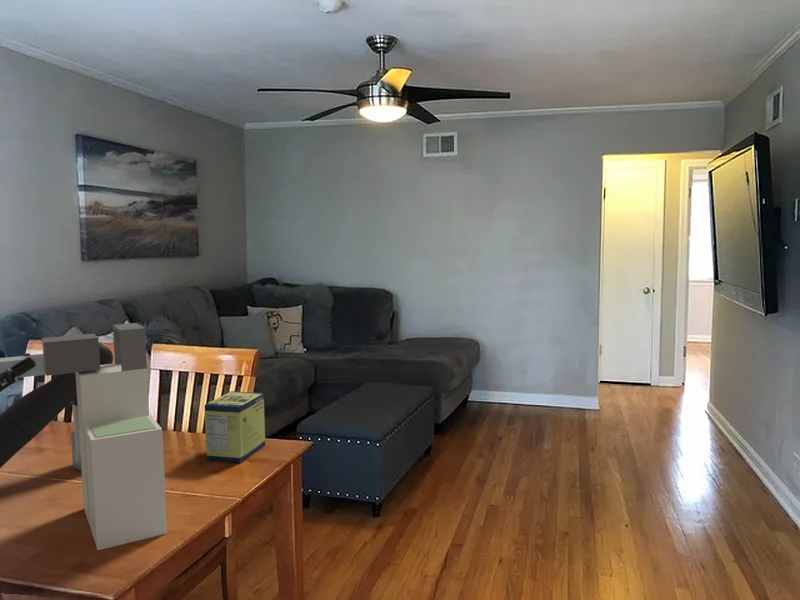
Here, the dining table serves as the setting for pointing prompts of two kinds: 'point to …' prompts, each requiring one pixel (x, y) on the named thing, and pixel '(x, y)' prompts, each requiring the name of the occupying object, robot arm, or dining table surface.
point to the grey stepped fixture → (121, 446)
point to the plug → (61, 356)
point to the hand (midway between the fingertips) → (32, 359)
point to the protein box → (234, 426)
